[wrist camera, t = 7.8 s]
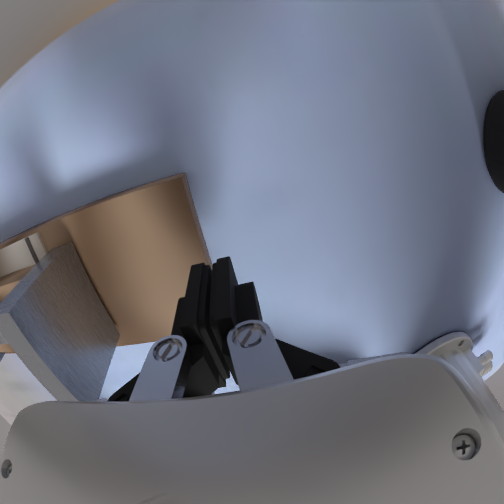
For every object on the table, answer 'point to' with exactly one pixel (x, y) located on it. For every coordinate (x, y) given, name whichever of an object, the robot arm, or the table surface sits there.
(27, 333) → the plunger
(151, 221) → the gauge bed
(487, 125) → the pen holder
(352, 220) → the table surface
